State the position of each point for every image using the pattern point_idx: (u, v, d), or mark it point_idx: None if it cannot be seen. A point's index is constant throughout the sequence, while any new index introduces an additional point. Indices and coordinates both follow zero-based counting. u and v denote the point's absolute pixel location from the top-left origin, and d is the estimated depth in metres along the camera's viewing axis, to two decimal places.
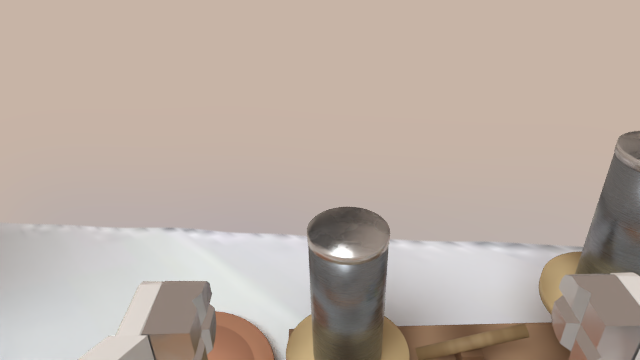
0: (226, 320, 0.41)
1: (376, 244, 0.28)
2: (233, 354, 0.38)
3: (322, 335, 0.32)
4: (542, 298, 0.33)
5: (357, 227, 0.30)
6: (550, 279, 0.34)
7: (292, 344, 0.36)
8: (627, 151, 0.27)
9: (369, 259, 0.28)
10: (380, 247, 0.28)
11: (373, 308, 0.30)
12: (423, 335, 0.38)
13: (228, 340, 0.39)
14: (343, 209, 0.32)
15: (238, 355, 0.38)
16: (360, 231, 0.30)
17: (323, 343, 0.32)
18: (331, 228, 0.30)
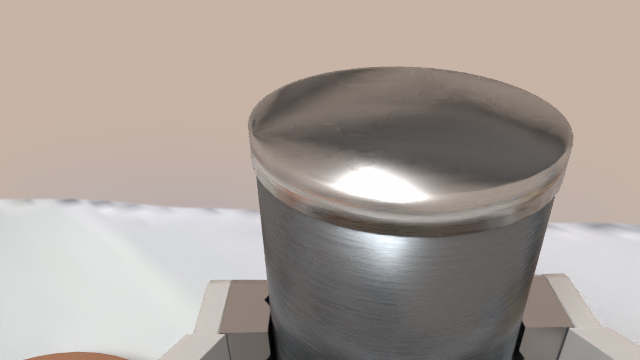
0: None
1: (534, 152, 0.07)
2: None
3: None
4: None
5: (435, 107, 0.08)
6: None
7: None
8: None
9: (511, 211, 0.06)
10: (558, 162, 0.06)
11: None
12: None
13: None
14: (379, 70, 0.10)
15: None
16: (451, 116, 0.08)
17: None
18: (341, 109, 0.08)
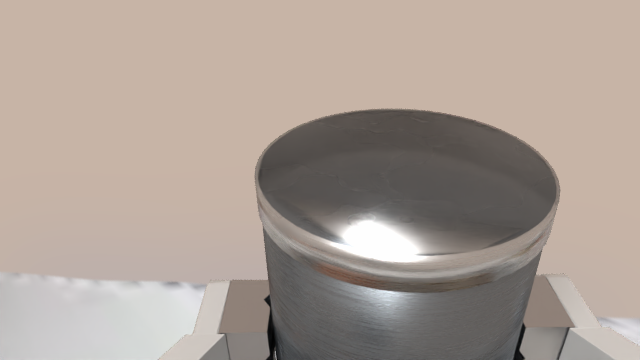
0: None
1: (522, 209, 0.07)
2: None
3: None
4: None
5: (431, 157, 0.09)
6: None
7: None
8: None
9: (501, 268, 0.07)
10: (545, 221, 0.07)
11: None
12: None
13: None
14: (378, 113, 0.10)
15: None
16: (447, 167, 0.08)
17: None
18: (342, 158, 0.09)
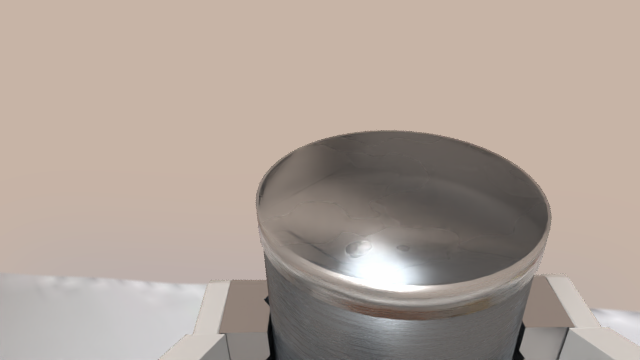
0: None
1: (515, 237, 0.07)
2: None
3: None
4: None
5: (427, 182, 0.09)
6: None
7: None
8: None
9: (494, 295, 0.07)
10: (535, 249, 0.07)
11: None
12: None
13: None
14: (375, 135, 0.11)
15: None
16: (442, 192, 0.09)
17: None
18: (341, 184, 0.09)
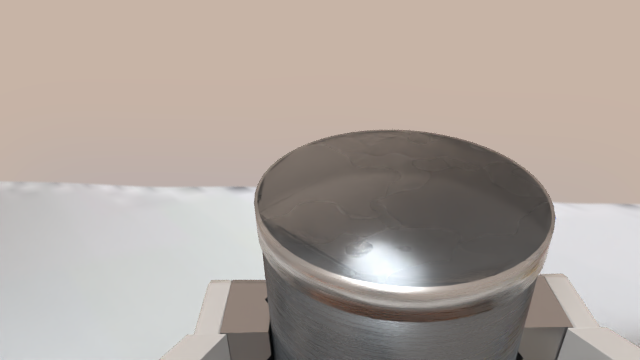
0: None
1: (518, 237, 0.07)
2: None
3: None
4: None
5: (428, 181, 0.09)
6: None
7: None
8: None
9: (498, 296, 0.07)
10: (540, 249, 0.07)
11: None
12: None
13: None
14: (375, 135, 0.11)
15: None
16: (443, 192, 0.08)
17: None
18: (340, 184, 0.09)
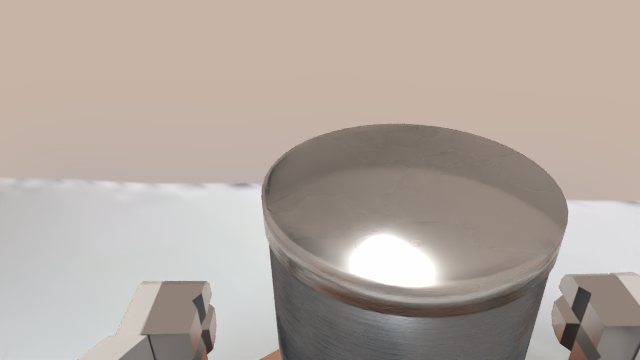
0: None
1: (531, 231, 0.07)
2: None
3: None
4: None
5: (438, 175, 0.09)
6: None
7: None
8: None
9: (510, 291, 0.07)
10: (553, 244, 0.07)
11: None
12: None
13: None
14: (383, 128, 0.10)
15: None
16: (453, 186, 0.08)
17: None
18: (349, 177, 0.09)
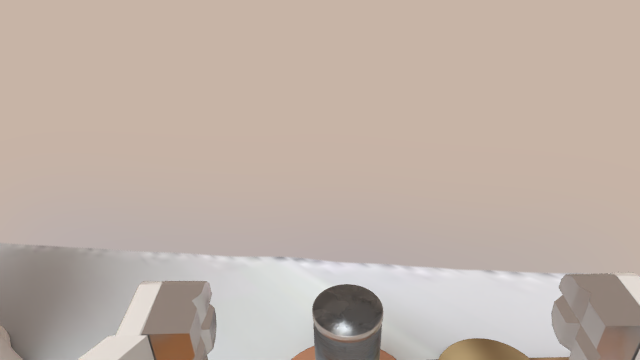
0: None
1: (371, 324, 0.34)
2: None
3: None
4: None
5: (355, 306, 0.35)
6: None
7: None
8: None
9: (365, 337, 0.33)
10: (374, 327, 0.33)
11: None
12: None
13: None
14: (344, 286, 0.37)
15: None
16: (358, 310, 0.35)
17: None
18: (333, 306, 0.35)
